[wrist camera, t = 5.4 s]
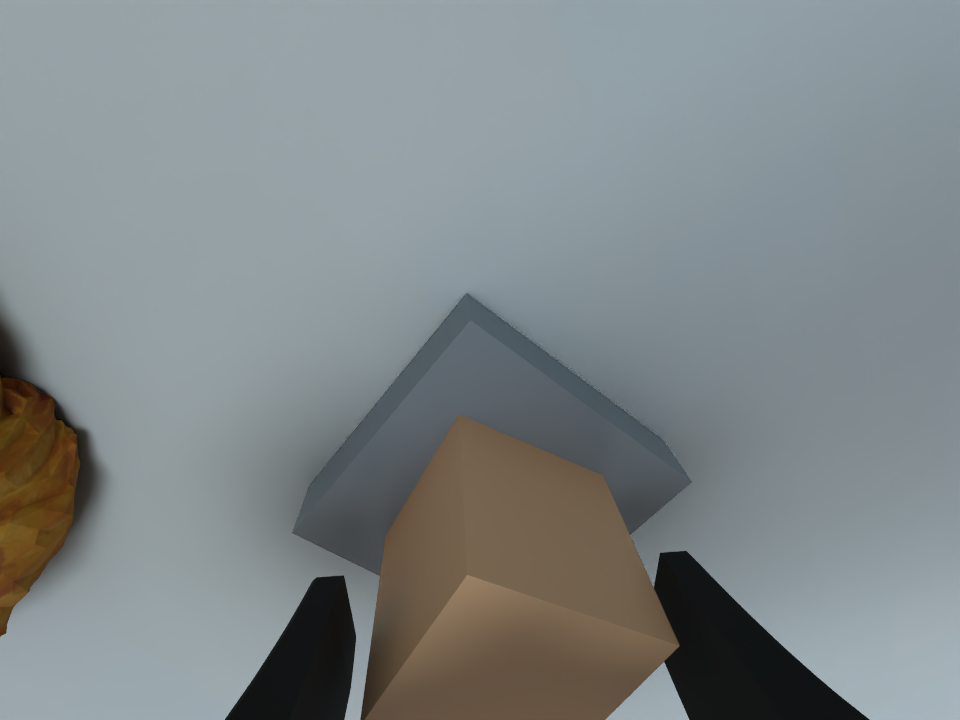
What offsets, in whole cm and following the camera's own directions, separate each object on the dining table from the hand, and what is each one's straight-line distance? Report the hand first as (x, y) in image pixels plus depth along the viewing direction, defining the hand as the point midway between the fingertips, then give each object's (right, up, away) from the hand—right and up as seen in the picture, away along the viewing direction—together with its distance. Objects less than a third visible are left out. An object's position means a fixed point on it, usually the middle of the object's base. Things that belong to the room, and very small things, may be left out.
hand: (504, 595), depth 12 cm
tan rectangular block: (0, +1, +3) cm, 3 cm away
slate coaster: (0, +2, +4) cm, 5 cm away
